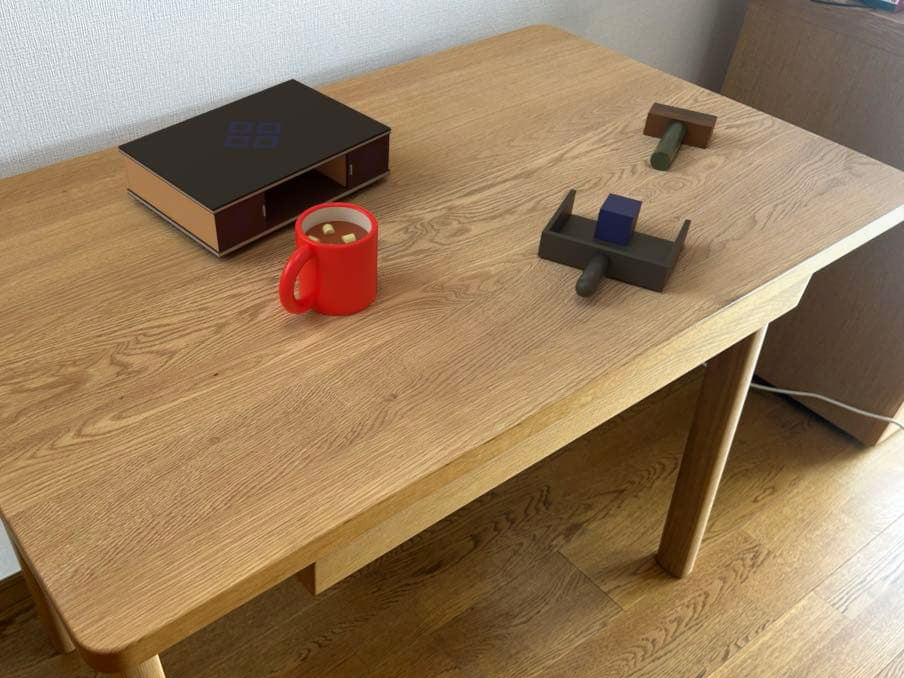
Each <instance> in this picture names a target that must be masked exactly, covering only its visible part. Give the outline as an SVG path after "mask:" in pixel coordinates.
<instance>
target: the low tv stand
mask: <svg viewBox="0 0 904 678" xmlns="http://www.w3.org/2000/svg"><path fill="white" fill-rule="evenodd" d="M391 134H392V127H390V126H389V125H387V124H384V123H382V122H381V121H378V120H376V119H374V118H372V117H370V116H368V115H366V114H364V113H362V112H360V111H359V110H356V109H354V108H352V107H350V106H349V105H346V104H344V103H343V102H341V101H338V100H336V99H334V98H332V97H330V96H328V95H327V94H324V93H322V92H320V91H318V90H316V89H314V88H312V87H310V86H309V85H306V84H304V83H302V82H300V81H299V80H297V79H294V78H291V79H288V80H285V81H283V82H281V83H278V84H275V85H273V86H270V87H267V88H265V89H262V90H260V91H257V92H254V93H251V94H250V95H246V96H244V97H241V98H238V99H236V100H234V101H231V102H228V103H226V104H223V105H220V106H217V107H216V108H212V109H210V110H208V111H205V112H203V113H201V114H197V115H195V116H192V117H190V118H186V119H185V120H182V121H180V122H176V123H174V124H172V125H169V126H166V127H164V128H161V129H158V130H156V131H153V132H151V133H148V134H146V135H143V136H141V137H138V138H136V139H135V138H134V139H133V140H130V141H128V142H125V143H123V144H120V145H118V146H117V149H118V152H119V153H120V154H121V160H122V164H123V169H124V173H125V179H126V183H127V188H126V190H127V194H128V195H130V196H131V197H132V198H134V199H135V200H136V201H138V202H139V203H140V204H142V205H143V206H145V207H146V208H148V209H149V210H151V211H152V212H153V213H155V214H156V215H158V216H159V217H160V218H162V219H163V220H165V221H166V222H167V223H168V224H170V225H171V226H173V227H175V228H176V229H178V230H179V231H180V232H181V233H183V234H184V235H186V236H187V237H188V238H190V239H191V240H193V241H195V242H196V243H197V244H198V245H200V246H201V247H202V248H204V249H206V250H207V251H208V252H210V253H211V254H213V255H214V256H216V257H217V258H219V259H221V258H222V257H224V256H227V255H228V254H230V253H232V252H235V251H236V250H239V249H241V248H242V247H245V246H247V245H249V244H251V243H253V242H255V241H257V240H259V239H261V238H264V237H265V236H267V235H269V234H271V233H274V232H275V231H277V230H279V229H282V228H283V227H286V226H288V225H289V224H292V223H293V222H296V221H297V219H298V217H299V216H300V215H301V214H302V213H303V212H304V211H306V210H308V209H309V208H311V207H314V206H316V205H320V204H324V203H335V202H337V201H338V200H340V199H342V198H344V197H347V196H349V195H350V194H353V193H355V192H357V191H359V190H360V189H362V188H365V187H368V186H370V185H371V184H373V183H375V182H377V181H379V180H382V179H383V178H385V177H387V176H390V175H391V169H390V167H389V165H390V137H391V136H390V135H391Z"/></svg>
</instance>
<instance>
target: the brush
mask: <svg viewBox="0 0 904 678" xmlns="http://www.w3.org/2000/svg"><path fill="white" fill-rule="evenodd" d="M717 121H718V116H717V115H714V114H710V113H706V112H701V111H696V110H691V109H687V108H683V107H678V106H673V105H668V104H664V103H661V102H660V103H659V102H654V103H653V104H652V105H651V107H650V108H649V110H648V111H647V116H646V120H645V123H644V128H643V132H642V134H643V135H645V136H650V137H654V138H659V139H660V140H659V142H658V143H657V145H656V147H655V148H654V150H653V152H652V154H651V156H650V158H649V163H650V165H651V167H652V168H653V169H655V170H657V171H663V170H665V169H667V168H668V167H670V165H671V163H672V161H673V159H674V157H675V156H676V153H677V151H678V150H679V148H680V146H681V144H683V145H689V146H692V147H696V148H700V149H707V147H708V145H709V143H710V141H711V140H712V136H713V133H714V130H715V127H716V124H717Z"/></svg>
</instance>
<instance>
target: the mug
mask: <svg viewBox="0 0 904 678" xmlns="http://www.w3.org/2000/svg"><path fill="white" fill-rule="evenodd" d="M294 229H295V230H294V231H295V234H294V235H295V251H294V252H293V253H292V254H291V255H290V257H289V258H288V259H287V261H286V262H285V264H284V267H283V268H282V272H281V274H280V277H279V282H278V299H279V302H280V304H281V306H282V308H283V309H284V310H285V311H286V312H287V313H289V314H292V315H302V314H304V313H306V312H308V311H310V310H311V311H314V312H316V313H319V314H321V315H326V316H349V315H352V314H357V313H359V312H361V311H363V310H365V309H367V308H368V307H370V306H371V304H372V303H374V301H375V299H376V297H377V292H378V253H379V251H378V250H379V222H378V220H377V218H376V216H375V215H374V214H373V213H372V212H371V211H369V210H368V209H366V208H365V207H362V206H360V205H357V204H353V203H348V202H340V201H339V202H337V201H335V202H332V203H324V204H320V205H316V206H314V207H311V208H309V209H308V210H306V211H304V212H303V213H302V214H301V215H300V216H299V217H298V219H297V220H296V221H295V224H294ZM296 282H297V284H298V285H297V286H298V296H299V298H296V296H295V286H296Z"/></svg>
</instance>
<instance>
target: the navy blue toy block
mask: <svg viewBox="0 0 904 678" xmlns="http://www.w3.org/2000/svg"><path fill="white" fill-rule="evenodd" d="M642 204H643V201H642V200H639V199H634V198H631V197H627V196H623V195H621V194H620V195H619V194H616V193H612V192H609V194H608V195H607V196H606V198H605V199H604V202H603V203H602V205H600V207H599V211H598V215H597V219H596V221H597V224H596V228H595V232H594V237H595V238H598V239H602V240H605V241H609V242H613V243H616V244H620V245H623V246H626V245H627V243H628V241H629V239H630V238H631V236H632V234H633V232H634V231H636V227H637V224H638V219H639V216H640V213H641V208H642V206H643V205H642Z"/></svg>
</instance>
